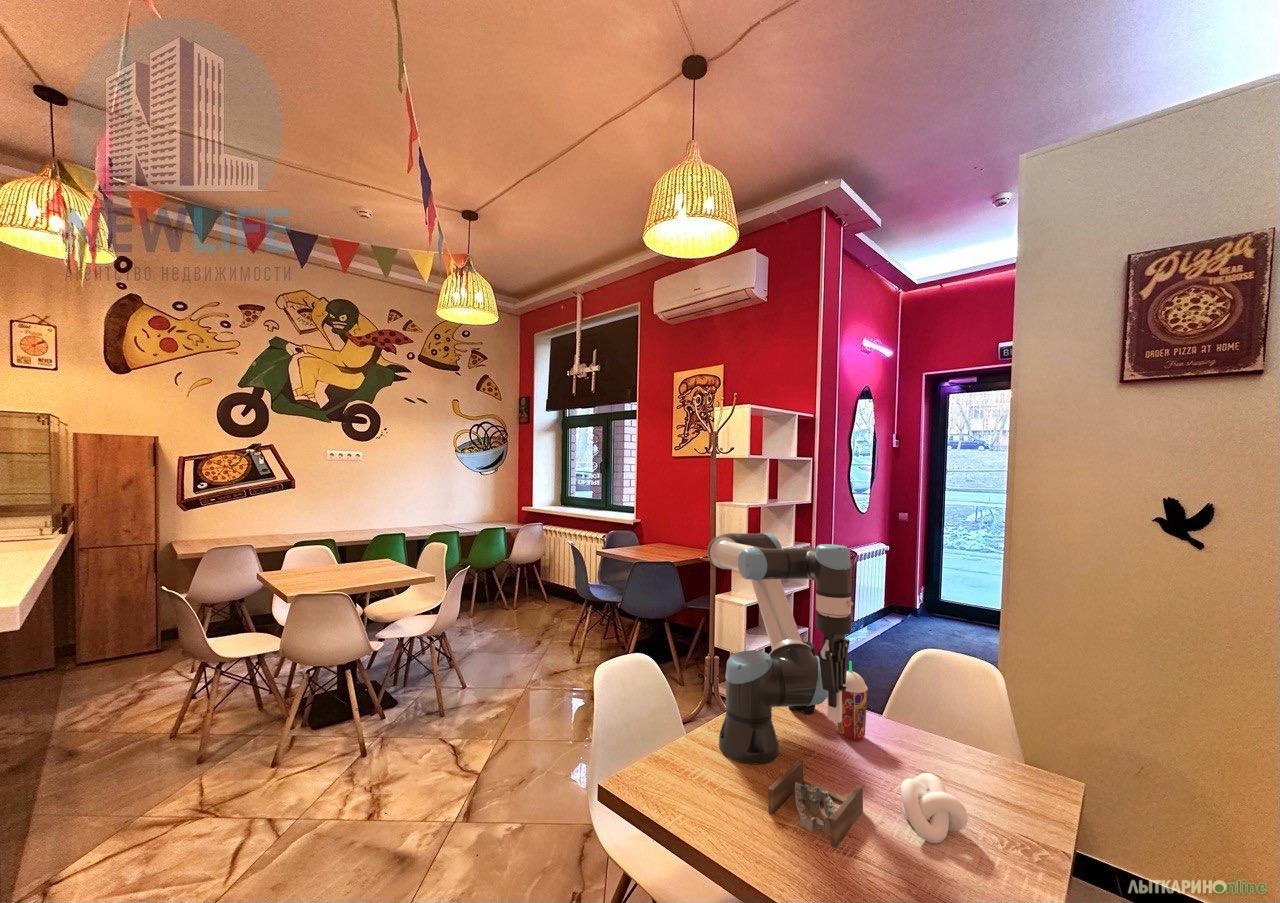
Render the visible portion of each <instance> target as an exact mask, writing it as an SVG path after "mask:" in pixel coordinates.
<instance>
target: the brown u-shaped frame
mask: <svg viewBox="0 0 1280 903" xmlns="http://www.w3.org/2000/svg"><path fill="white" fill-rule="evenodd" d="M804 763H805V762H804V761H803V760H801V759H798V761H796V762H795V764H793V765H791V767H790V768H789V769H788V770H786V771H785V772H784V773H783V774H782V775H781V776H780V777H779V778H777V779H776V780H775V781H774V782H773V783H772V784H771V785H770V786H769V787H768V813H769V814H770V815H772V816H774V815H775V814H776V813H777V812H778V811H779V810H780V809H781V808H782V807H783V806H784V804H786V803H787V802H788V801H789V800H790V799H791V798H792V797H793V796H794V795H795V782H797V783H800V784H802V785H805V784H806V785H808V786H813V787H814V788H815V787H818V788H819V790H822V791H823V790H824V789H823V788H821V787H819V786H817V785H815V784H812V783H810V782H808V781H806V780H805V774H804V773H805V772H804V770H805V769H804V768H805V766H804V765H805V764H804ZM863 788H864V787H863V786H862V785H860V784H857V785H856V786H855V787H854V789H852V791H851V792H850V794H849V795H848V796H847V797H846V798H843V797H841V796H838V795H836V794H835V793H832V792H830V791H828V790H827V792H828V795H829V796H830V798H831V799H832V801H833V802H835V803H838V804H839V805H840V806H839V807H838V809H836V810H835V813H834V814H833V816H832V817H831V834H830V847H833V848H835V849H837V848H838V846H839V845H840V843H841V842H842V841H843V840H844V838H845V837H846V836H847V834H848V833H849V831H850V830H851V828H852V827H853V826H854V824H855V823H856V822H857V820H858V819H859V818H860V816H861V815H862V814H863V812H864V789H863Z"/></svg>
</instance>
